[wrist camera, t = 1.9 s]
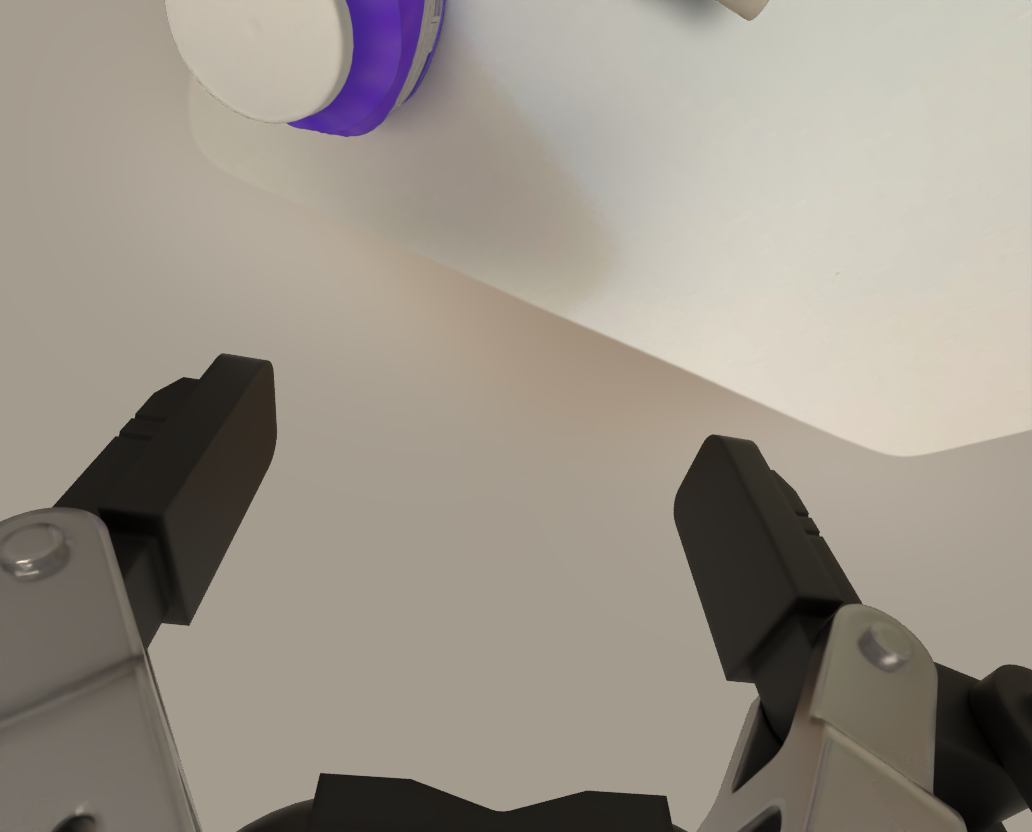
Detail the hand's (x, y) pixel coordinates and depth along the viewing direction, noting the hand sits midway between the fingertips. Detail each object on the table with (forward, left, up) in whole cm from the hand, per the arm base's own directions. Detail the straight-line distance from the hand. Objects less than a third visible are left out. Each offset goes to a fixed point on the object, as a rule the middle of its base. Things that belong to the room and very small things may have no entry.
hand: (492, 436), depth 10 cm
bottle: (-8, -3, -25) cm, 27 cm away
